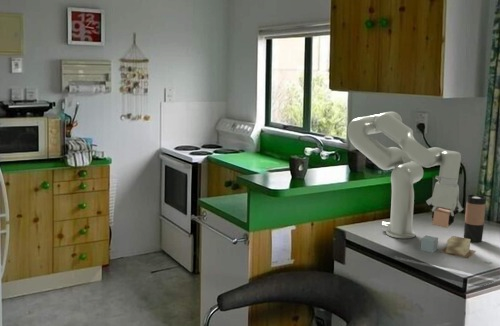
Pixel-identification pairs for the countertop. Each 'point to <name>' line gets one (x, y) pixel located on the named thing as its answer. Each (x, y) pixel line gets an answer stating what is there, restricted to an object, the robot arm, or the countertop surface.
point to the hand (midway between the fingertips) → (442, 221)
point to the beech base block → (458, 245)
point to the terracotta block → (441, 217)
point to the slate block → (429, 244)
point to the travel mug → (474, 218)
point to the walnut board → (457, 254)
